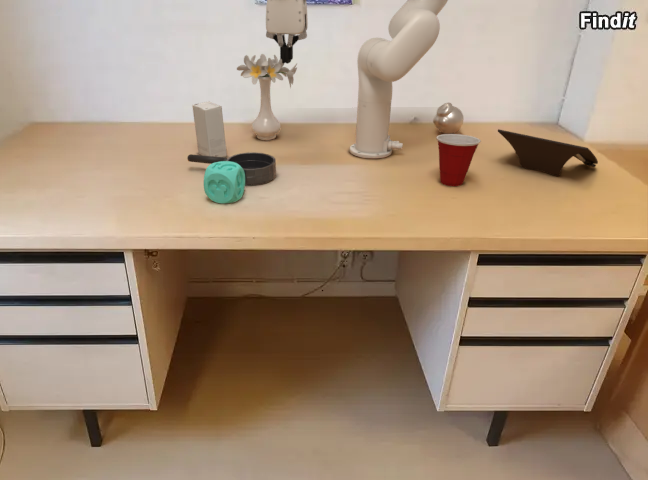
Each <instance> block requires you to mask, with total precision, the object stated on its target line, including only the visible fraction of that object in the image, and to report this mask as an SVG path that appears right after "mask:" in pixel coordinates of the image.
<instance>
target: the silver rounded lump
mask: <svg viewBox="0 0 648 480" xmlns="http://www.w3.org/2000/svg"><path fill="white" fill-rule="evenodd" d="M432 123H433V125H434V126H435V127H436V129H437V130H438V131H439V132H440V133H441V134H442V135H443V134H456V133H458V131H459V130H460V129H461V128H462V127H463V124H464V114H463V112H462V111H461V110H460V108H459V107H457V106H454V105H453V104H452V102H445V103H443V104H441V105H440V106H439V107H438V108H437V110H436V115H435V116H434V117H433V119H432Z"/></svg>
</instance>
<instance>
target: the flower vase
mask: <svg viewBox="0 0 648 480" xmlns="http://www.w3.org/2000/svg"><path fill="white" fill-rule="evenodd" d="M256 58H257V56H256V54H254V55H253V56H251V58H250V57H249V55H248V54H246V55H244V57H243V63H244V64H241V65H238V66H237V67H236V71H241V73H240V77H243V78H244V79H249V78H251V83H252V85H256V84H257V83H258V82H259V83H258V84H259V89H260V108H259V112H258V115H257V116H256V117H255V119H254V120H253V121H252V124H251V130H252V132H253V134H255V135H256V138H257V139H258V140H261V141H271V140H274V139H276V138H277V135H278V134H279V133H280V131H281V130H282V129H281V128H282V126H281V123H280V121H279V119H278V118H277V117H276V116H275V115H274V112H273V110H272V109H273V108H272V102H271V100H272V99H271V84H272V83H276V82H277V81H276V80H279V81H284V77H285V78H287V80H288V85H289V88H290V89H291V88H292V85H294V75H295V74H296V72H297V71H298V67H297V65H298V63H295V65H294V66H293V67H292V68H291V69H289V68H288V67H287V66H284V65H285V63H282V59H280V58H278V56H277V55H276V54H273V59H272V58H271V57H268V58H267V56H266V55H265V54H264V53H261V54H260V55H259V58H258V59H257V60H256ZM283 76H284V77H283Z"/></svg>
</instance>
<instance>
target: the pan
mask: <svg viewBox="0 0 648 480" xmlns="http://www.w3.org/2000/svg"><path fill="white" fill-rule="evenodd" d="M276 160H277V159H276V158H275V157H274V156H273V155H271V154H269V153H264V152H256V151H255V152H252V151H251V152H249V151H248V152H242V153H236V154H233V155H231V156H228V157H227V160H226V161H231V162H235V163H237V164H239V165H240V166H241V167H242V168H243V170H244V173H245V186H260V185H264V184H267V183H271V182H272V181H273V180H274V179H275V178H276V176H277V161H276Z"/></svg>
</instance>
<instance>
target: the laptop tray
mask: <svg viewBox="0 0 648 480" xmlns="http://www.w3.org/2000/svg"><path fill="white" fill-rule="evenodd" d="M497 132H498V133H499V134H500V135H501V136H502V137H503V138H504V139H505V140H506V141H507V142H508V144H510V146H511V147H512V149H513V150H514V152H515V154H516V156H517V158H518V161H519V165H520V167H521V168H522V169H525V170H533V171H539V172H543V173H546V174H549V175H552V176H555V177H560V175H561V173H562V170H563V168H564V166H565V165H566V164H567V162H568V161H570V160H571V159H572V158H573V157H574V159H575V158H576V159H577V160H578V161H580V162H582V163H583V165H585V166H588V167H591V168H596V166H597V165H598V164H599V161H598V158H597V157H596V155H595V154H594V153H593V152H592V151H591V149H590V148H589V147H586V146H581V145H576V144H572V143H567V142H561V141H558V140H552V139H549V138H548V139H547V138H543V137H538V136H534V135H533V136H532V135H528V134H523V133H518V132H515V131H508V130H503V129H499V128H498V129H497Z"/></svg>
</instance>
